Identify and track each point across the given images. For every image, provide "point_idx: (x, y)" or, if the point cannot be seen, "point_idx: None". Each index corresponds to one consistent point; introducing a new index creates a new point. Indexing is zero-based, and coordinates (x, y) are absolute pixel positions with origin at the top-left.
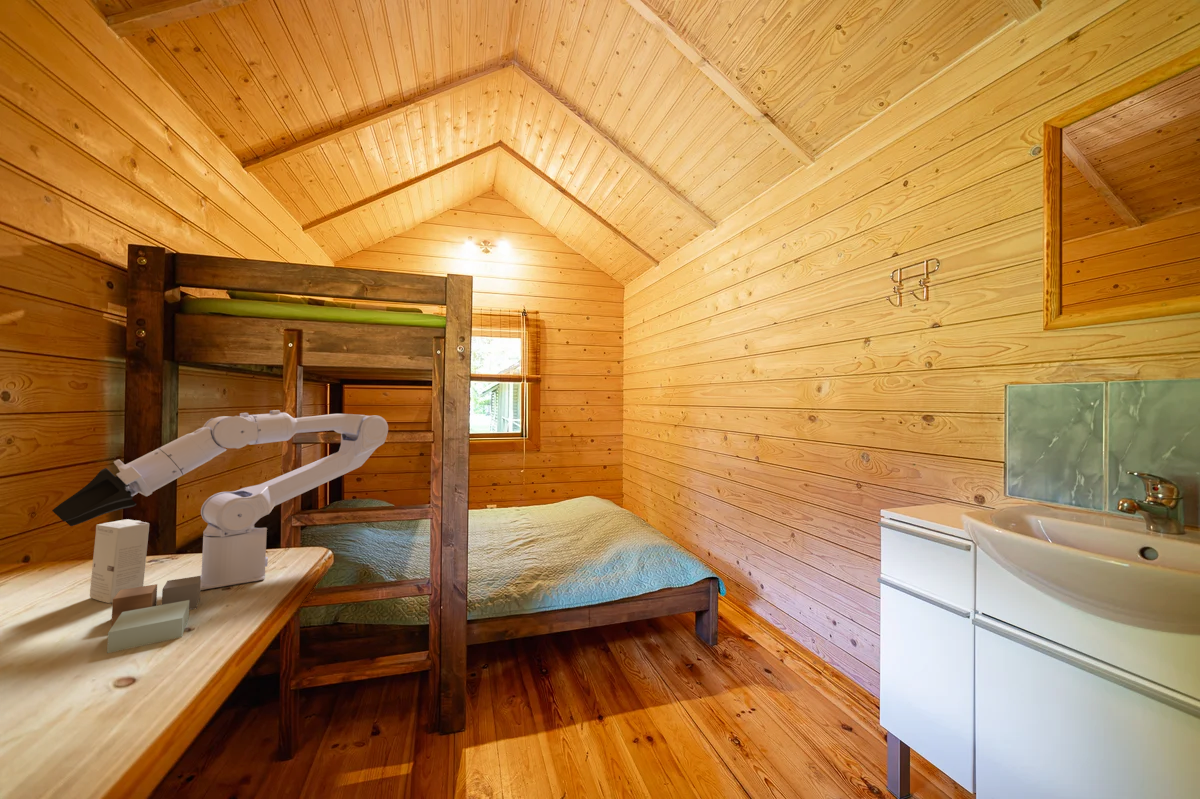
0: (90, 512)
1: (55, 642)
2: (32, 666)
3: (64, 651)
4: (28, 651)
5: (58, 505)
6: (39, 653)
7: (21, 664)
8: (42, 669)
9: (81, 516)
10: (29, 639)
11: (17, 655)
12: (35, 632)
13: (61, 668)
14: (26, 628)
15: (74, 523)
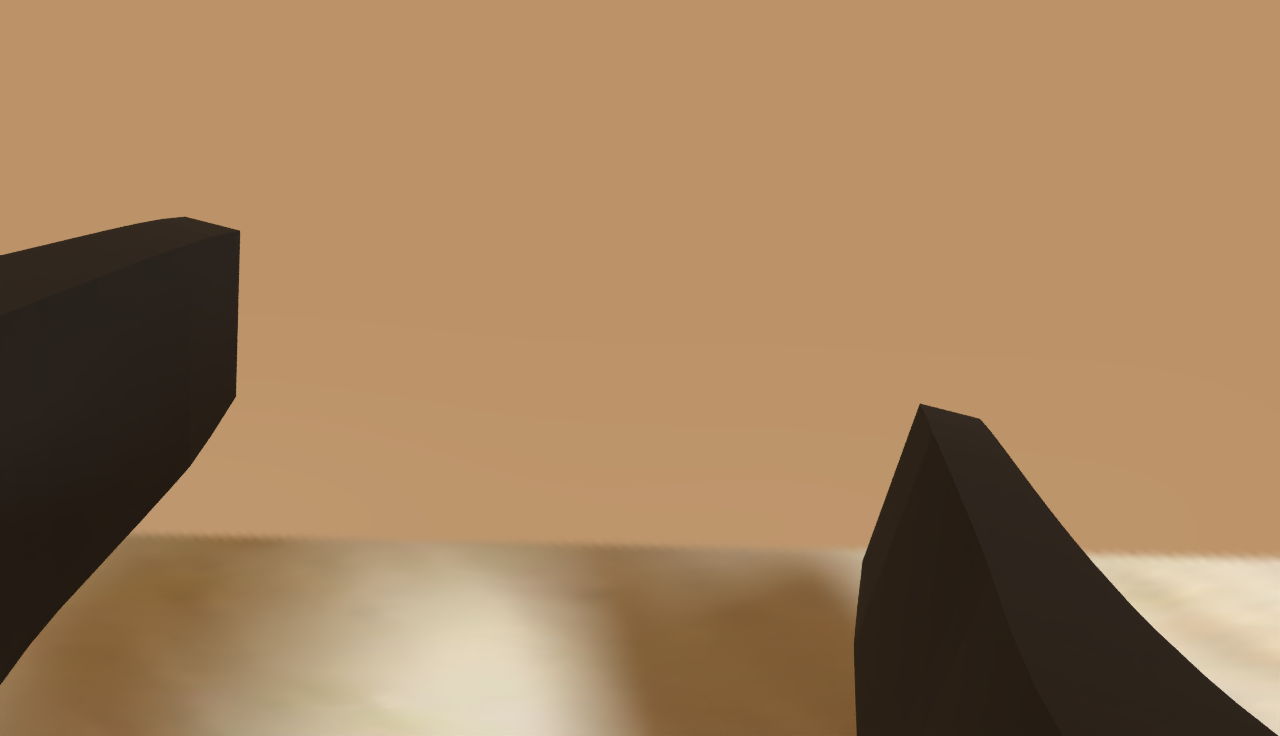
0: (884, 715)
1: (369, 691)
2: (152, 597)
3: (199, 706)
4: (359, 596)
5: (131, 225)
6: (284, 627)
7: (220, 569)
8: (78, 622)
9: (876, 626)
10: (540, 609)
11: (351, 562)
12: (636, 637)
13: (11, 674)
14: (758, 609)
15: (860, 588)
